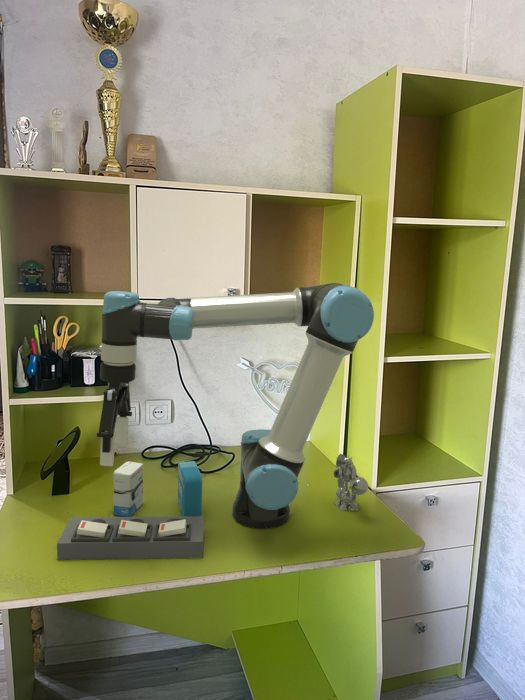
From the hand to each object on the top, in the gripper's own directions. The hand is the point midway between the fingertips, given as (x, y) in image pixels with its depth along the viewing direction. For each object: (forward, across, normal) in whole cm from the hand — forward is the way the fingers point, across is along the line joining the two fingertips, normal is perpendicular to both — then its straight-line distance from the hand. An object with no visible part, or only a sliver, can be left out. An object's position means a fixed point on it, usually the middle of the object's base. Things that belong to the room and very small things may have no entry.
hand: (114, 453), depth 125 cm
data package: (+22, -18, +16) cm, 33 cm away
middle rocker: (+17, +2, +5) cm, 18 cm away
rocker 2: (+16, +1, +14) cm, 22 cm away
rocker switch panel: (+22, 0, +6) cm, 23 cm away
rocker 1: (+17, +3, -4) cm, 18 cm away
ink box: (+23, -18, 0) cm, 29 cm away
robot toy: (+20, -21, +60) cm, 66 cm away
